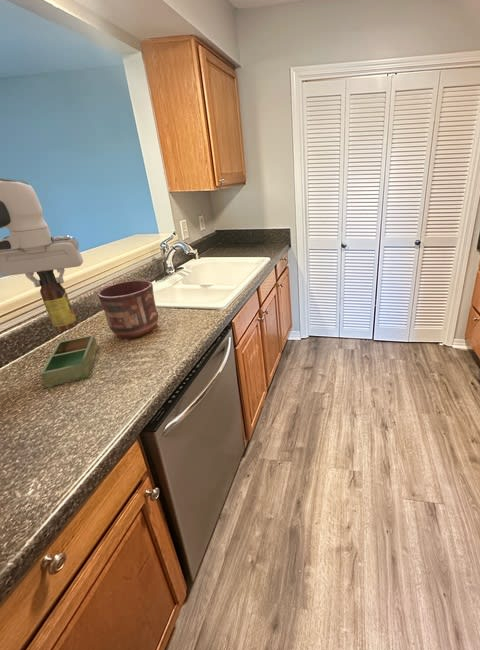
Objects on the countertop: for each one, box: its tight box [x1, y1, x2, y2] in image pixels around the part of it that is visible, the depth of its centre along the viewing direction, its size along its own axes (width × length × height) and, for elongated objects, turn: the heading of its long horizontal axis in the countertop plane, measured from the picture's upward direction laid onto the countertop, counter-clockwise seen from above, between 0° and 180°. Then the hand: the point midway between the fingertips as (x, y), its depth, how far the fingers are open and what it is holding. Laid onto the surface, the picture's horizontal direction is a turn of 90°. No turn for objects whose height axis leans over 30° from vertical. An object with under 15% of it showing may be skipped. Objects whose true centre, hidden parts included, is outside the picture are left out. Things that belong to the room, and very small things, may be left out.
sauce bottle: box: [35, 270, 78, 332], centre depth 99 cm, size 7×6×20 cm
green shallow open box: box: [40, 334, 99, 388], centre depth 103 cm, size 11×20×5 cm, turn 23°
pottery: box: [97, 279, 160, 340], centre depth 120 cm, size 18×18×18 cm
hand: (50, 284), depth 98 cm, fingers closed on sauce bottle, 4 cm apart
